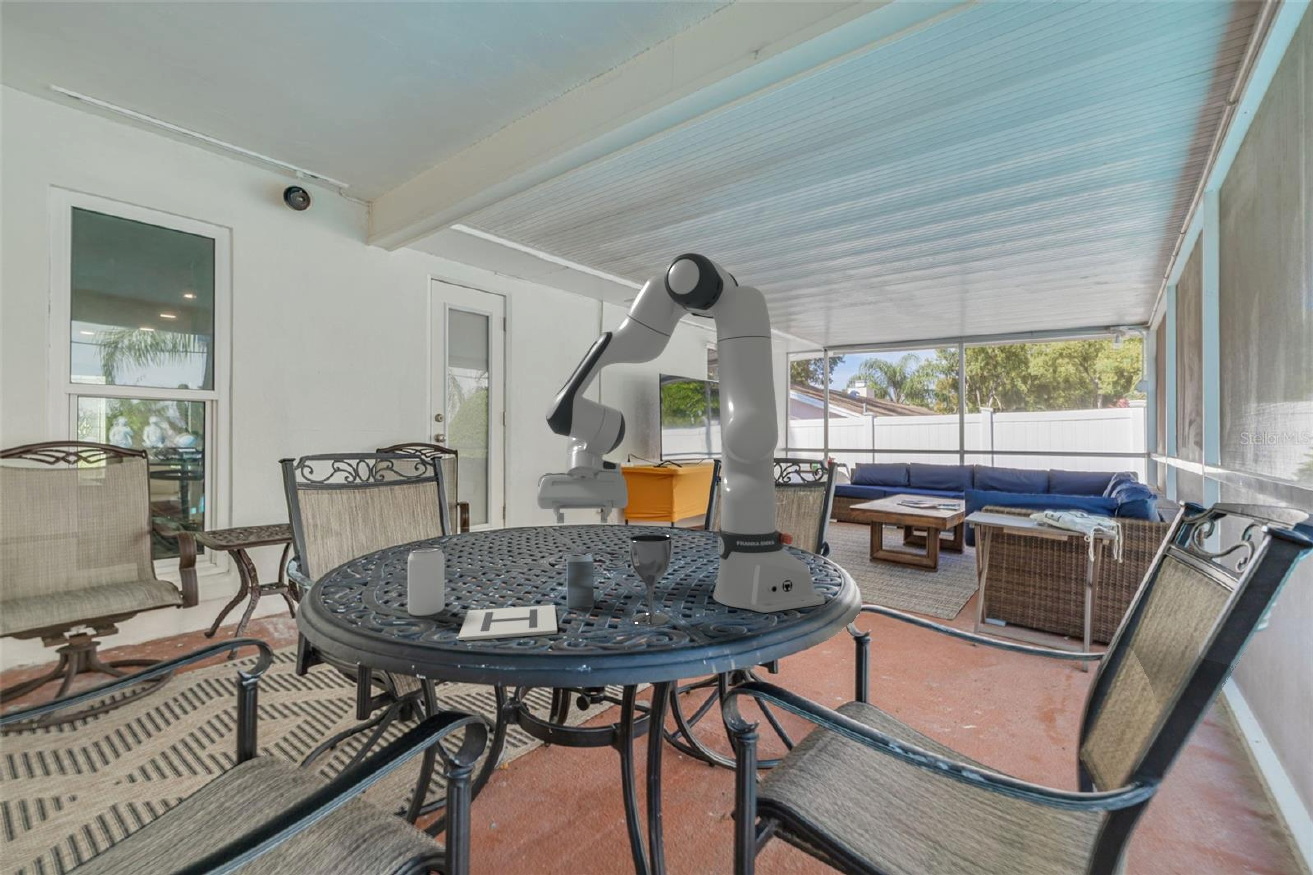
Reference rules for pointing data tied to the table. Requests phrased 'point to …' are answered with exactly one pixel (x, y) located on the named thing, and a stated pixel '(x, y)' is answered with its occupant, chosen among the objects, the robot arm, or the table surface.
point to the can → (425, 581)
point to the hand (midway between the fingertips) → (582, 521)
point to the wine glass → (650, 569)
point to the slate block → (580, 581)
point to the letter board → (509, 622)
